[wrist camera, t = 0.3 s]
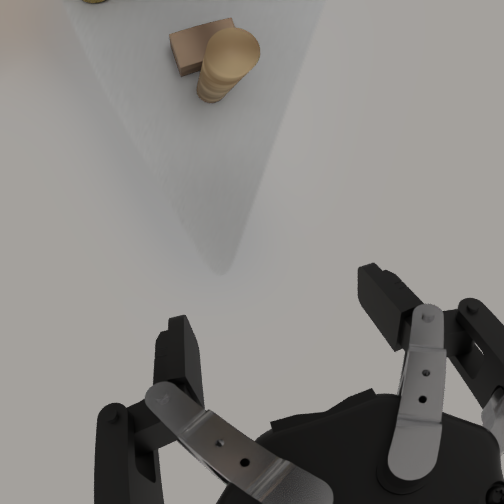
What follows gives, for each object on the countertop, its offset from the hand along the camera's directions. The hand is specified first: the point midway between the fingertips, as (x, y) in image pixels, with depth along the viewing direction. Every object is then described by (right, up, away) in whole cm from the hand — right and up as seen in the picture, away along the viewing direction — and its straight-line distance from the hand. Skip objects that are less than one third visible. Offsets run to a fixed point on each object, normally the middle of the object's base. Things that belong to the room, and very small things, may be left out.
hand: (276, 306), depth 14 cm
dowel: (-6, +22, +20) cm, 30 cm away
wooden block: (-7, +27, +18) cm, 33 cm away
